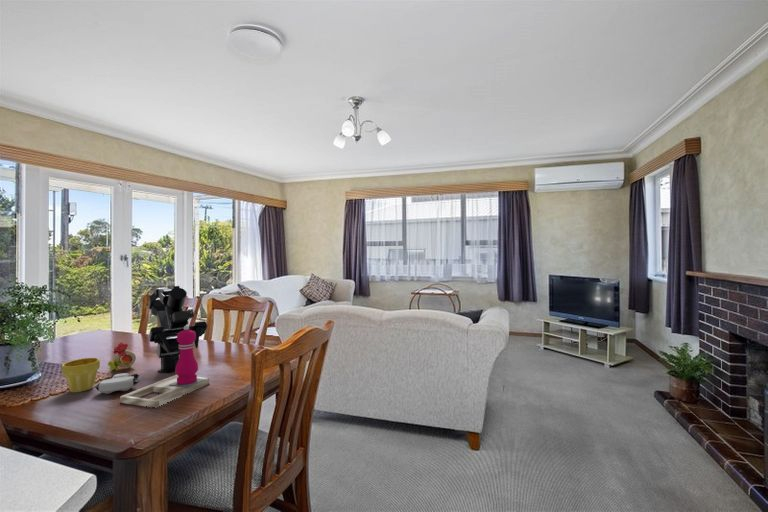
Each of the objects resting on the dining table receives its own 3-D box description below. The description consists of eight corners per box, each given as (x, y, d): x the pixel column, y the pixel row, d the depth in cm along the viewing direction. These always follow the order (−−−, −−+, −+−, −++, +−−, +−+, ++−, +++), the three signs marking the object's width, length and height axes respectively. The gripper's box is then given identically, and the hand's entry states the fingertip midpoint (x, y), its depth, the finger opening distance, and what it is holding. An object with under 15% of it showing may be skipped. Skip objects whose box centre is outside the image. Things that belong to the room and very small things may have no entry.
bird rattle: (129, 370, 157) (105, 365, 153) (141, 345, 159) (118, 339, 155) (128, 375, 152) (103, 369, 147) (141, 349, 154) (116, 343, 149)
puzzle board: (120, 402, 119) (120, 395, 119) (177, 379, 140) (176, 373, 140) (156, 408, 114) (156, 400, 114) (209, 383, 135) (209, 377, 135)
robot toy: (102, 387, 135) (92, 398, 122) (102, 374, 135) (92, 384, 122) (142, 381, 141) (136, 392, 127) (142, 369, 141) (136, 378, 127)
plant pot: (59, 397, 124) (58, 368, 123) (65, 387, 132) (65, 360, 132) (98, 390, 129) (97, 362, 129) (101, 381, 138) (101, 355, 138)
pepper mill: (202, 378, 134) (202, 323, 134) (189, 385, 127) (188, 327, 127) (185, 377, 135) (184, 323, 135) (170, 384, 128) (169, 327, 128)
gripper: (150, 305, 131) (156, 341, 123) (205, 300, 144) (215, 333, 136) (146, 323, 137) (152, 359, 129) (200, 317, 150) (208, 349, 142)
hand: (183, 349), depth 134 cm, fingers open, 9 cm apart
